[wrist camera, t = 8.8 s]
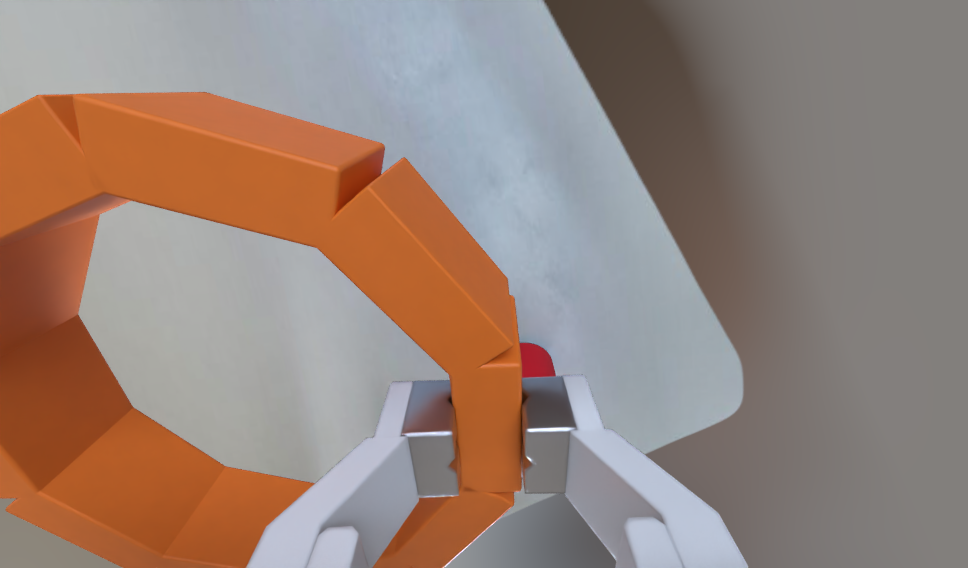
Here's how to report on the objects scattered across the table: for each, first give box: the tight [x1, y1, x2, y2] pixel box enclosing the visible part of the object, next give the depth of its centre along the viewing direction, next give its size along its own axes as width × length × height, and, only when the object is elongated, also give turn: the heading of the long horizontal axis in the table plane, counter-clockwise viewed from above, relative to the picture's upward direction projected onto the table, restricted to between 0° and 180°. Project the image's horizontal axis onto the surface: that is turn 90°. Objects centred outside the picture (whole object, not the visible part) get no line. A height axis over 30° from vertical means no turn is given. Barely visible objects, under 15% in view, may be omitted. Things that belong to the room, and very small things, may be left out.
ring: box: [0, 92, 522, 568], centre depth 10 cm, size 13×13×3 cm
